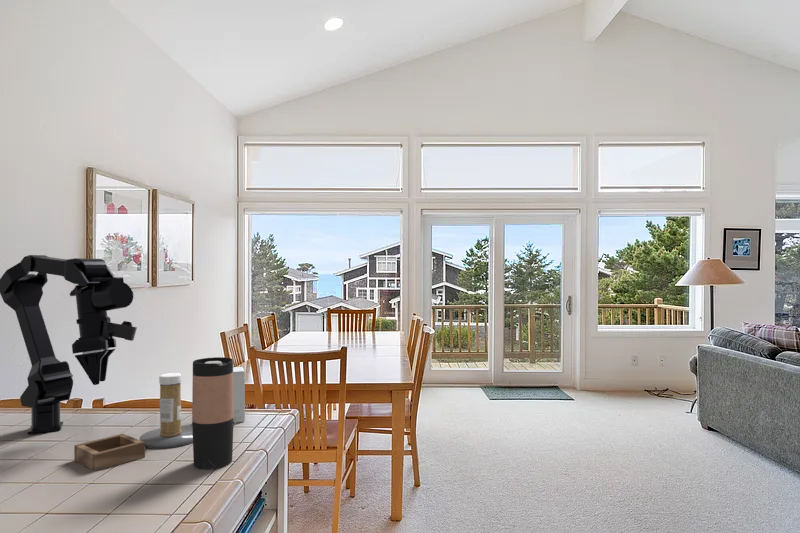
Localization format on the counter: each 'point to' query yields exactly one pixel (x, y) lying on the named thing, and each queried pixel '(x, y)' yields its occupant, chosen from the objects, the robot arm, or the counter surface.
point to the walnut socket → (109, 451)
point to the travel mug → (212, 412)
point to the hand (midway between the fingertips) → (99, 382)
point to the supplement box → (239, 394)
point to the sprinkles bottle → (170, 404)
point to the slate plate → (167, 438)
